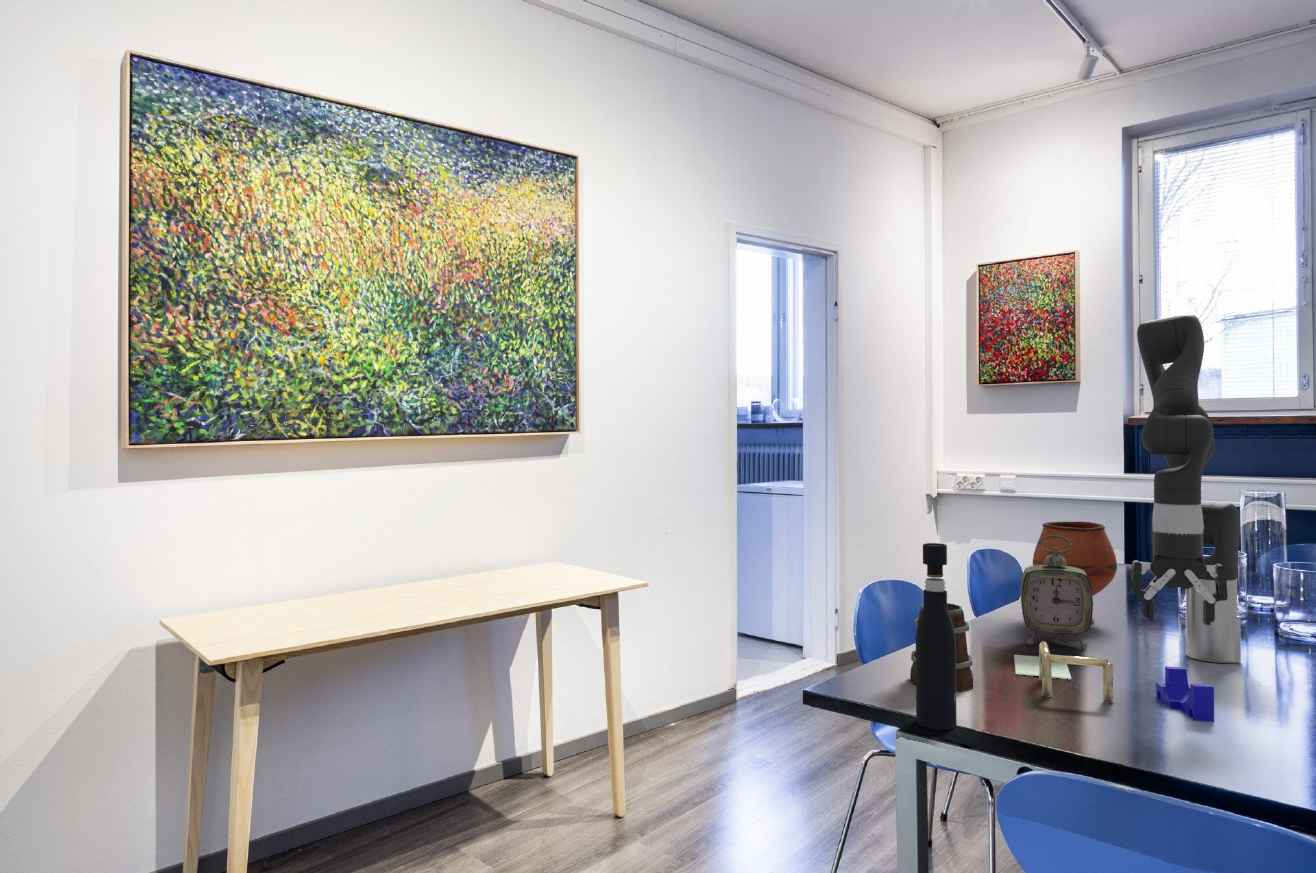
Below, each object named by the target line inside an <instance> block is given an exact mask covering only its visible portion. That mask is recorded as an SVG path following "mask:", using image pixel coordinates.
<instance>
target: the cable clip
mask: <svg viewBox="0 0 1316 873" xmlns="http://www.w3.org/2000/svg"><path fill="white" fill-rule="evenodd" d="M1155 698H1156V699H1157V700H1158V701H1159V700H1160V701H1159V702H1160V703H1162V704H1163V705H1165V706H1166V707H1167V708H1168V709H1170V710H1172V709H1173V710H1180V711H1181V712H1182V713H1184V715H1186V716H1187V717H1189V718H1190V719H1191V720H1193V721H1195V722H1210V723H1211V722H1212V723H1214V722H1215V687H1214V686H1213V685H1211V684H1210V683H1190V684H1189V680H1188V670H1187V668H1185V667H1184V666H1168V665H1167V666H1164V682H1158V681H1157V682H1156V683H1155Z"/></svg>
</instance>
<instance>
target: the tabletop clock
mask: <svg viewBox="0 0 1316 873" xmlns="http://www.w3.org/2000/svg"><path fill="white" fill-rule="evenodd" d="M1048 538H1059V539H1063V540H1066V541H1067V542H1068V543H1069V544H1070V548H1069V549H1067V550H1064V551H1058V549H1057V548H1056V547H1054V548H1053V551H1049V550H1046V549H1043V548H1042V547H1041V546H1040V544H1041V542H1042V541H1043V540H1045V539H1048ZM1037 543H1038V542H1037ZM1038 546H1039V548H1040V549H1041V550H1042V551H1044V552H1046V553H1050V554H1053V555H1050V556H1047V557H1046V558H1045V560H1044V562H1043V565H1034V566H1033V565H1029V566H1027V567H1025V569H1024V571H1023V573H1022V576H1021V582H1020V603H1021V613H1022V617H1023V618H1022V619H1023V622H1024V624H1025V626H1026V628H1027V629H1029V630H1032V634H1031V637H1028V638H1027V639H1026V644H1027V645H1029V646H1033V645H1035V640H1034V639H1035V637H1036V635H1037V633H1038V632H1039V633H1045V634H1053V635H1052V636H1051V637H1050V640H1051V642H1052V643H1054V644H1057V643H1058V642H1059V640H1060V639H1059V636H1057V635H1074V636H1075V637H1076V638H1077V640H1078V641H1079V644H1078V647H1079V649H1081V650H1086V649H1087V647H1088V644H1087V643H1086V642H1085V641H1083V640H1082V637H1081V635H1082V634H1085V633H1087V632H1089V630H1090V627H1091V626H1092V624H1091V621H1092V618H1093V611H1094V608H1093V607H1094V598H1093V597H1094V596H1092V588H1091V584H1090V581H1089V579H1088V577H1087V575H1086V573H1085V572H1084V571H1083V570H1081V569H1079V568H1076V567H1070V566H1068V565H1067V562H1066V560H1065V559H1064V558H1063V557H1062V556H1059V555H1058V554H1063V553H1067V552H1068V551H1070V550H1071V548H1072V543H1071V541H1070V540H1069V539H1067V538H1065V537H1063V536H1058V535H1050V536H1045V537H1043V538H1042V539H1040V541H1039V543H1038Z"/></svg>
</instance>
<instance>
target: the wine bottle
mask: <svg viewBox="0 0 1316 873" xmlns="http://www.w3.org/2000/svg"><path fill="white" fill-rule="evenodd" d="M922 564H923V565H926V570H927V571H926V576H927V577H928V578H925V580H924V583H925V585H924V588H925V589H924V590H923V592H922V593H923V604H924V606H923V610H922V612H921V615H920V618H919V617H918V618H919V621H918V626H917V628H916V630H915V650H916V684H915V709H916V710H915V711H916V712H915V714H916V715H915V717H916V718H915V720H916V721H915V722H916V723H917V724H918V725H919V726H920V727H924V728H927V729H930V730H937V731H944V730H945V731H946V730H948V731H949V730H952V729H954V728H956V727H957V725H958V724H957V692H956V637H955V631H954V627H953V623H952V620H951V617H950V614H949V611H948V608H947V603H948V591H947V590H946V587H947V586H946V582H945V579H944V578H943V576H944V567H943V566H946V565H947V564H948V545H947V544H946V543H937V542H928V543H927V542H925V543H923V544H922Z"/></svg>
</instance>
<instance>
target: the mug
mask: <svg viewBox="0 0 1316 873" xmlns="http://www.w3.org/2000/svg"><path fill="white" fill-rule="evenodd" d="M920 605H921V606H920V607H919V614H918V618H915V619H914V625H913V626H914V628H916V629H917V626H918V621H919V618H920V615H921V612H922V610H923V606H924V603H922V604H920ZM947 608H948V611H949V614H950V617H951V620H952V623H953V627H954V631H955V637H956V691H961V692H963V691H966V690H970V689H973V688H974V675H973V671H972V669H971V667H972V666H973V663H974V661H973V656H972V655H970V654H969V653H968V652H969V651H968V642H967V633H966V632H969V631H970V624H969V622H968V621H965V613H964V610H963V607H962V605H959V604H955V603H948V602H947ZM910 657H911V658H910V660H911V662H912V664H911V666H910V674H909V675H910V676H909V677H910V680H909V681H910V683H911V684H914V685H916V649H915V650H912V651H911V656H910Z"/></svg>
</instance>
